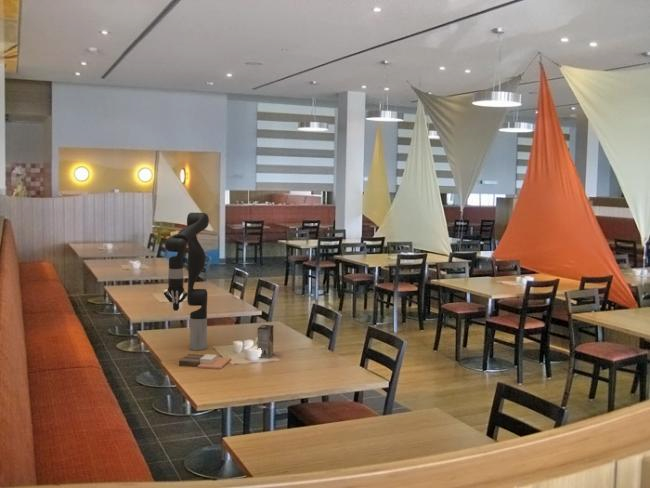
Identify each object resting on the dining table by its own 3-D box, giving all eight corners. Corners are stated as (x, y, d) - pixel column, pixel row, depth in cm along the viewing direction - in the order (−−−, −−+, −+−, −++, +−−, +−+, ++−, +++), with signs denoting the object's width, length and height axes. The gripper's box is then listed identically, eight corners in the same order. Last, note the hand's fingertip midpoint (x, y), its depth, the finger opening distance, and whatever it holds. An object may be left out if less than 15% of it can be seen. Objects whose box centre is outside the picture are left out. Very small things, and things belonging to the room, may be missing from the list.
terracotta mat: (208, 358, 359) (208, 356, 359) (231, 360, 358) (231, 358, 357) (197, 368, 342) (197, 366, 342) (220, 369, 340) (220, 367, 340)
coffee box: (262, 353, 372) (262, 324, 371) (273, 354, 371) (273, 325, 369) (257, 357, 363) (257, 327, 362) (268, 358, 362) (269, 328, 361)
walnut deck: (188, 358, 359) (188, 353, 359) (206, 359, 357) (206, 355, 357) (178, 365, 345) (178, 360, 345) (197, 366, 344) (197, 362, 343)
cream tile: (205, 359, 355) (205, 354, 355) (216, 359, 354) (216, 355, 354) (199, 363, 346) (199, 358, 346) (211, 364, 345) (211, 359, 345)
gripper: (190, 276, 353) (190, 309, 355) (166, 275, 355) (166, 308, 357) (186, 278, 346) (186, 312, 348) (160, 277, 348) (161, 311, 349)
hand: (176, 310), depth 352 cm, fingers closed
